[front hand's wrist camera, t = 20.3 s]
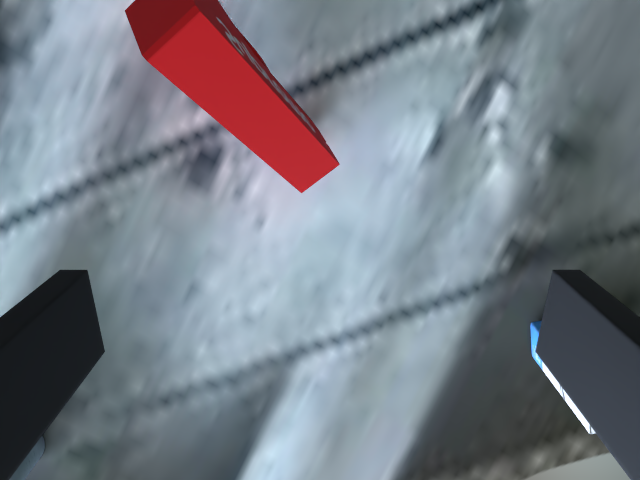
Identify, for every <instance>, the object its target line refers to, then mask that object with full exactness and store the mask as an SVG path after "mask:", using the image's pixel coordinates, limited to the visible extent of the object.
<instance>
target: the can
mask: <svg viewBox="0 0 640 480" xmlns="http://www.w3.org/2000/svg"><path fill="white" fill-rule="evenodd" d="M44 449H45V441H44V438H43V436H41V438H40V439H39V440H38V442H37V443H36V444H35V446H34V447H33V448H32V450H31V451H30V453H29V454H28V455H27V457H26V458H25V459H24V461H23V462H22V463H21V465H20V466H19V467H18V469H17V470H16V471H15V473H14V474H13V475H12V477H11V478H10V479H9V480H25V479H26V477H27V476H28V475H29V473H30V472H31V470H32V469H33V467H34V466H35V465H36V463H37V462H38V460H39V459H40V458H41V456H42V455H43V453H44Z"/></svg>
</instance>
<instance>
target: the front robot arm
mask: <svg viewBox="0 0 640 480" xmlns="http://www.w3.org/2000/svg"><path fill="white" fill-rule="evenodd" d="M104 352H105V350H104V345H103V341H102V336H101V331H100V327H99V322H98V317H97V313H96V308H95V303H94V299H93V294H92V289H91V285H90V280H89V276H88V271H87V270H59V271H58V272H57V273H56V274H54V275H53V276H52V277H51V278H49V279H48V280H47V281H46V282H44V283H43V284H42V285H41V286H39V287H38V288H37V289H35V290H34V291H33V292H32V293H30V294H29V295H28V296H27V297H25V298H24V299H23V300H22V301H20V302H19V303H18V304H17V305H15V306H14V307H13V308H12V309H10V310H9V311H8V312H6V313H5V314H4V315H3V316H1V317H0V480H9V479H10V478H11V477H12V475H13V474H14V473H15V471H16V470H17V469H18V467H19V466H20V465H21V463H22V462H23V461H24V459H25V458H26V457H27V455H28V454H29V453H30V451H31V450H32V448H33V447H34V446H35V444H36V443H37V442H38V440H39V439H40V438H41V436H42V435H43V434H44V432H45V431H46V430H47V428H48V427H49V426H50V424H51V423H52V422H53V420H54V419H55V418H56V416H57V415H58V414H59V412H60V411H61V410H62V408H63V407H64V406H65V404H66V403H67V402H68V400H69V399H70V398H71V396H72V395H73V394H74V392H75V391H76V390H77V388H78V387H79V386H80V384H81V383H82V382H83V380H84V379H85V378H86V376H87V375H88V374H89V372H90V371H91V370H92V368H93V367H94V366H95V364H96V363H97V362H98V360H99V359H100V357H101V356H102V355H103V353H104ZM535 352H536V353H537V355H538V356H539V358H540V359H541V360H542V362H543V363H544V364H545V366H546V367H547V368H548V370H549V371H550V372H551V374H552V375H553V376H554V378H555V379H556V380H557V382H558V383H559V384H560V386H561V387H562V388H563V390H564V391H565V392H566V394H567V395H568V396H569V398H570V399H571V400H572V402H573V403H574V404H575V406H576V407H577V408H578V410H579V411H580V412H581V414H582V415H583V416H584V418H585V419H586V420H587V422H588V423H589V424H590V426H591V427H592V428H593V430H594V431H595V432H596V434H597V435H598V436H599V438H600V439H601V440H602V442H603V443H604V444H605V446H606V447H607V449H608V450H609V451H610V453H611V454H612V455H613V457H614V458H615V459H616V460H617V462H618V463H619V465H620V466H621V467H622V469H623V470H624V471H625V473H626V474H627V475H628V477H629V478H630V479H631V480H640V317H639V316H637V315H636V314H635V313H634V312H632V311H631V310H630V309H628V308H627V307H626V306H625V305H623V304H622V303H621V302H620V301H618V300H617V299H616V298H615V297H613V296H612V295H611V294H610V293H608V292H607V291H606V290H605V289H603V288H602V287H601V286H599V285H598V284H597V283H596V282H594V281H593V280H592V279H591V278H589V277H588V276H587V275H586V274H584V273H583V272H582V271H581V270H553V271H552V276H551V280H550V285H549V289H548V294H547V299H546V303H545V308H544V313H543V317H542V322H541V327H540V331H539V336H538V341H537V345H536V350H535Z"/></svg>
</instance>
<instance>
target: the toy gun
mask: <svg viewBox="0 0 640 480" xmlns="http://www.w3.org/2000/svg"><path fill="white" fill-rule="evenodd" d="M125 12H126V15H127V18H128V20H129V23H130V25H131V28H132V31H133V33H134V36H135V38H136V41H137V44H138V46H139V49H140V51H141V54H142V56H143V57H144V58H145V59H146V60H147V61H148V62H149V63H150V64H151V65H152V66H153V67H155V68H156V69H157V70H158V71H159V72H160V73H162V74H163V75H164V76H165V77H166V78H167V79H169V80H170V81H171V82H172V83H173V84H174V85H176V86H177V87H178V88H179V89H180V90H181V91H183V92H184V93H185V94H186V95H187V96H188V97H190V98H191V99H192V100H193V101H194V102H195V103H197V104H198V105H199V106H200V107H201V108H203V109H204V110H205V111H206V112H207V113H208V114H210V115H211V116H212V117H213V118H214V119H215V120H217V121H218V122H219V123H220V124H221V125H222V126H224V127H225V128H226V129H227V130H228V131H229V132H231V133H232V134H233V135H234V136H235V137H236V138H238V139H239V140H240V141H241V142H242V143H243V144H245V145H246V146H247V147H248V148H249V149H250V150H252V151H253V152H254V153H255V154H256V155H257V156H259V157H260V158H261V159H262V160H263V161H264V162H266V163H267V164H268V165H269V166H270V167H272V168H273V169H274V170H275V171H276V172H277V173H279V174H280V175H281V176H282V177H283V178H284V179H286V180H287V181H288V182H289V183H290V184H291V185H293V186H294V187H295V188H296V189H297V190H298V191H300V192H301V193H302V192H304V191H305V190H306V189H308V188H309V187H310V186H312V185H313V184H314V183H316V182H317V181H318V180H320V179H321V178H322V177H324V176H325V175H326V174H328V173H329V172H330V171H332V170H333V169H334V168H336V167H337V166H338V165H339V162H338V161H337V159H336V157H335V156H334V154H333V152H332V151H331V149H330V148H329V146H328V145H327V144H326V141H325V139H324V138H323V136H322V135H321V133H320V131H319V130H318V128H317V127H316V126H315V124H314V123H313V122H312V120H311V119H310V118H309V117H308V116H307V114H306V113H305V112H304V111H303V110H302V109H301V107H300V106H299V105H298V104H297V103H296V102H295V101H294V99H293V98H292V97H291V96H290V95H289V94H288V92H287V91H286V90H285V89H284V88H283V87H282V85H281V84H280V83H279V82H278V81H277V80H276V79H275V77H274V76H273V75H272V74H271V73H270V71H269V69H268V68H267V66H266V64H265V63H264V61H263V59H262V58H261V57H260V55H259V54H258V53H257V51H256V50H255V49H254V48H253V47H252V45H251V44H250V43H249V42H248V41H247V40H246V38H245V37H244V36H243V35H242V34H241V33H240V31H239V30H238V29H237V28H236V27H235V26H234V24H233V23H232V21H231V20H230V18H229V17H228V15H227V14H226V12H225V11H224V9H223V8H222V6H221V5H220V3H219V2H218V0H135V1H134V2H133V3H132V4H131V5H130V6H129V7H128V8H127V9H126V10H125Z"/></svg>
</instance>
